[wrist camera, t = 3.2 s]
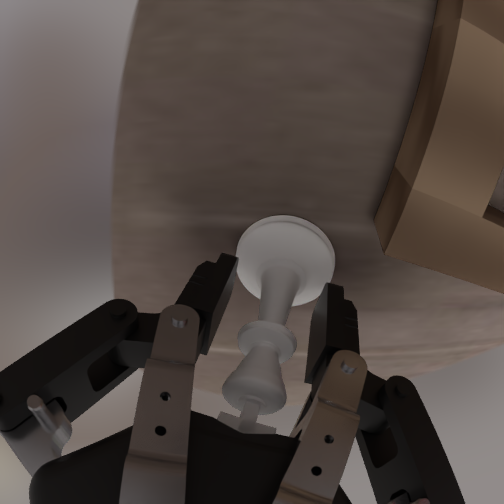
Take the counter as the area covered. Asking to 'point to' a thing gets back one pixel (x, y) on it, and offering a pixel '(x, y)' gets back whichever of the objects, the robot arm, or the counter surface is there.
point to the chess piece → (273, 311)
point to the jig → (453, 152)
